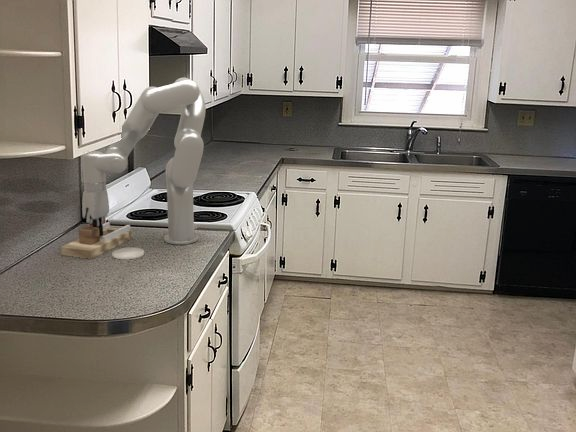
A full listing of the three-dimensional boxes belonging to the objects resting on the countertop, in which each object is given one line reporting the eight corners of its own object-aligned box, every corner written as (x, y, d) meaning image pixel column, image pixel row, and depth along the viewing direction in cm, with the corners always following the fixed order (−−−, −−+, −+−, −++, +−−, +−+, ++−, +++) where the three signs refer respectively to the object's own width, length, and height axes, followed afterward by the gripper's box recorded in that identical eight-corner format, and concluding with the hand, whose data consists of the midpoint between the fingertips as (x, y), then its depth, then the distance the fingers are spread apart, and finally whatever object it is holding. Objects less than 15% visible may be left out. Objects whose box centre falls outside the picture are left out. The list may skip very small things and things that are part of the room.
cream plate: (123, 248, 234) (123, 245, 234) (150, 251, 231) (150, 249, 231) (105, 257, 224) (105, 255, 224) (133, 261, 221) (133, 259, 221)
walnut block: (88, 239, 234) (87, 226, 233) (99, 240, 232) (99, 227, 231) (79, 243, 229) (78, 229, 228) (91, 245, 228) (90, 231, 226)
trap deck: (106, 234, 250) (105, 221, 248) (132, 238, 246) (132, 225, 245) (61, 254, 226) (60, 241, 225) (90, 259, 222) (89, 245, 221)
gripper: (99, 181, 238) (101, 229, 243) (72, 189, 225) (76, 240, 230) (116, 183, 236) (118, 231, 241) (90, 192, 222) (94, 242, 227)
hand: (98, 235), depth 235 cm, fingers closed
